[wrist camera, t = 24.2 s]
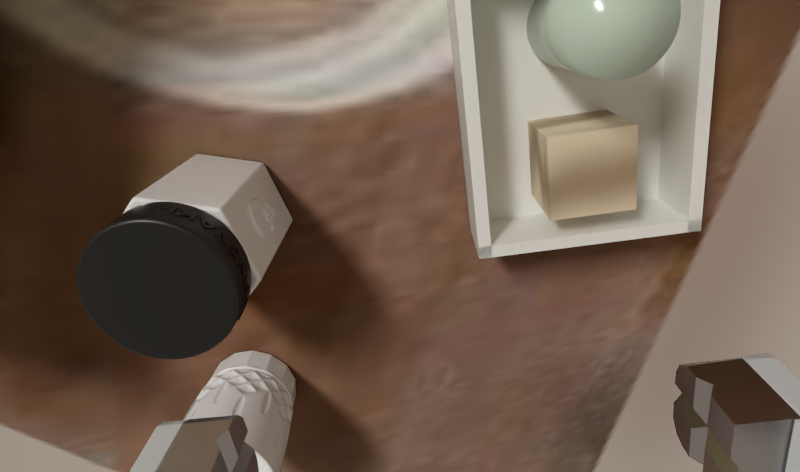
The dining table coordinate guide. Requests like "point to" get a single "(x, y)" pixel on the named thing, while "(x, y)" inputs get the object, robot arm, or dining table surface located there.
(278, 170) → the dining table surface
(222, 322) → the jar
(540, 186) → the beech cube
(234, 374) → the white cup
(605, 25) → the sage cylinder
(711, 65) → the tote
